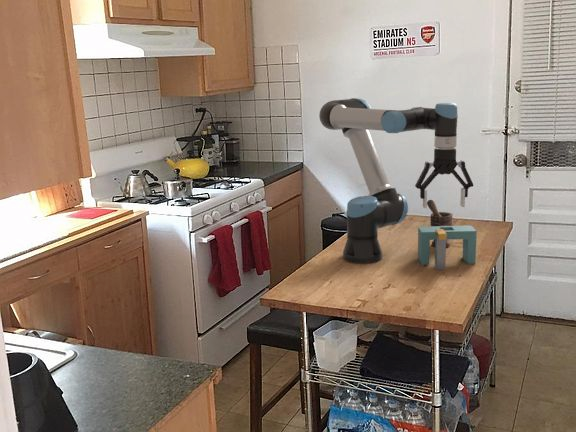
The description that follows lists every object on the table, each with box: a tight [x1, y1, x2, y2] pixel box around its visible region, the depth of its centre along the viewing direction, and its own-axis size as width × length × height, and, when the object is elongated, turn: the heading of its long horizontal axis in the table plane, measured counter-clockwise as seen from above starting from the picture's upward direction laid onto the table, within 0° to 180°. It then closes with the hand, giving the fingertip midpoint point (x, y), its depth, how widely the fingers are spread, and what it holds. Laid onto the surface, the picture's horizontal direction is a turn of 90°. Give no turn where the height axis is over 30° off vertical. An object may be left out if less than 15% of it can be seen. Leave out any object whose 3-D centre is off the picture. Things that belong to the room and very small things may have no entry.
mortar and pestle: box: [427, 199, 454, 248], centre depth 266 cm, size 12×9×20 cm
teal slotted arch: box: [417, 225, 478, 266], centre depth 249 cm, size 20×8×12 cm, turn 88°
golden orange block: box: [434, 229, 447, 271], centre depth 240 cm, size 3×7×14 cm, turn 178°
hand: (443, 206), depth 238 cm, fingers open, 13 cm apart
